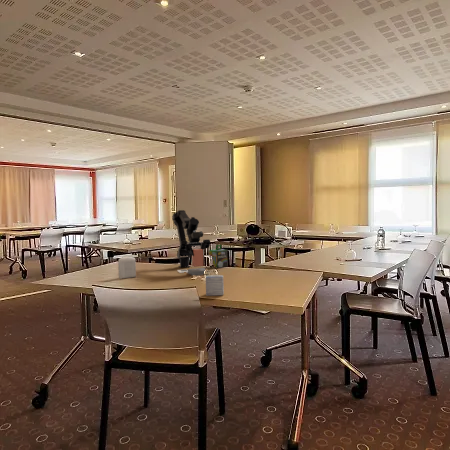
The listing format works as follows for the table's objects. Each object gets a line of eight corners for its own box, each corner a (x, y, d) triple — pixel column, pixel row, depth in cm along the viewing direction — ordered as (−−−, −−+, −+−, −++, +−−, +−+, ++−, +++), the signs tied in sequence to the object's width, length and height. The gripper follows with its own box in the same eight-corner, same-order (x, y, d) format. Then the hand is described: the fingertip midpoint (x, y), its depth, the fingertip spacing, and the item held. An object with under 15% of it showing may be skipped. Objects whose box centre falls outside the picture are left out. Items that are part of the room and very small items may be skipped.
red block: (192, 265, 234) (191, 249, 233) (201, 264, 236) (200, 248, 235) (194, 266, 229) (194, 250, 229) (203, 265, 231) (202, 249, 231)
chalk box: (220, 265, 265) (219, 243, 264) (228, 266, 258) (227, 244, 257) (209, 266, 259) (208, 244, 259) (217, 268, 252) (216, 245, 251)
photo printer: (134, 276, 231) (133, 255, 230) (137, 277, 227) (136, 256, 227) (117, 278, 225) (116, 257, 225) (120, 279, 222) (119, 257, 221)
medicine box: (223, 293, 178) (223, 274, 178) (223, 295, 174) (222, 276, 173) (207, 293, 179) (206, 275, 178) (205, 295, 174) (205, 276, 174)
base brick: (187, 273, 235) (187, 269, 235) (203, 271, 239) (203, 267, 239) (192, 275, 226) (192, 271, 226) (208, 274, 230) (208, 270, 230)
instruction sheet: (176, 270, 247) (176, 270, 247) (198, 269, 251) (198, 268, 251) (179, 272, 237) (179, 272, 237) (201, 271, 241) (201, 270, 241)
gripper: (180, 227, 232) (185, 247, 222) (209, 226, 238) (215, 245, 229) (177, 239, 239) (182, 259, 230) (205, 238, 246) (211, 257, 237)
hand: (198, 255), depth 231 cm, fingers closed on red block, 5 cm apart
